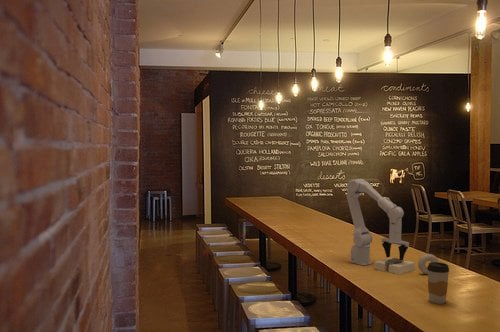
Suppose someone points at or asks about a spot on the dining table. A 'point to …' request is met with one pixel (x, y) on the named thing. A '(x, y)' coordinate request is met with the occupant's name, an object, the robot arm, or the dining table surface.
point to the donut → (423, 260)
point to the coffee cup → (437, 282)
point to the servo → (393, 261)
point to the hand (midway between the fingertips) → (394, 258)
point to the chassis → (395, 266)
